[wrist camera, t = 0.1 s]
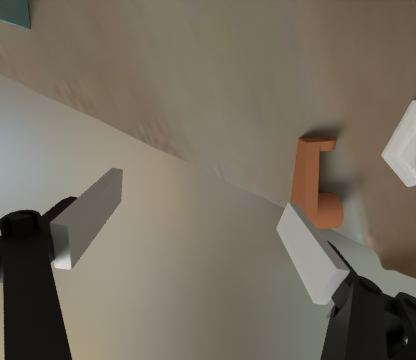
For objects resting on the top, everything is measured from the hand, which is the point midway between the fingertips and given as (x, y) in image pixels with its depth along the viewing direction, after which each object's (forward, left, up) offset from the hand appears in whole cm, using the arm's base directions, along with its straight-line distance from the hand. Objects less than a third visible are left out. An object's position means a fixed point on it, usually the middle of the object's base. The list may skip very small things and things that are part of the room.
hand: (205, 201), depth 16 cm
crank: (+6, +26, -29) cm, 39 cm away
